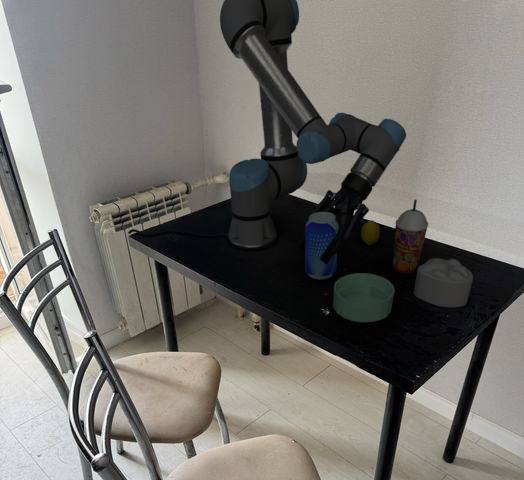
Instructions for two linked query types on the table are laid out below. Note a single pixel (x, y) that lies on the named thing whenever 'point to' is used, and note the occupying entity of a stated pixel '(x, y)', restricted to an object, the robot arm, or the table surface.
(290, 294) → the table surface
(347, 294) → the pale green round tub
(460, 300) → the lumpy-topped squat cylinder
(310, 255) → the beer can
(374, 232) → the lemon
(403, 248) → the smoothie
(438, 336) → the table surface
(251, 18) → the robot arm
